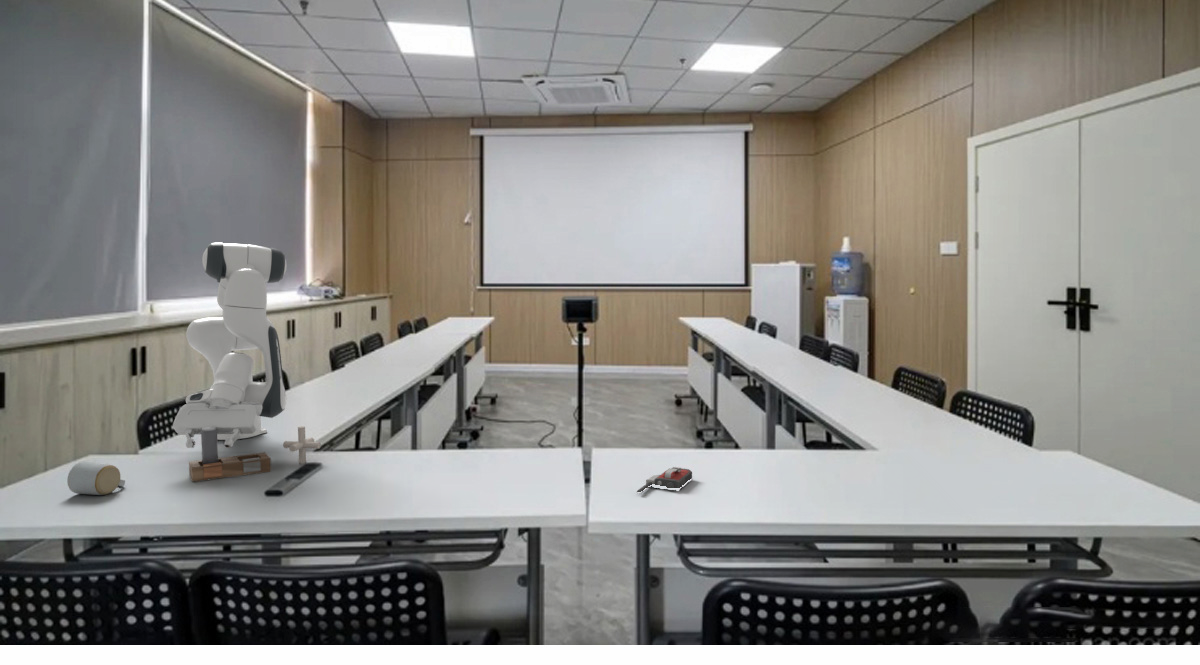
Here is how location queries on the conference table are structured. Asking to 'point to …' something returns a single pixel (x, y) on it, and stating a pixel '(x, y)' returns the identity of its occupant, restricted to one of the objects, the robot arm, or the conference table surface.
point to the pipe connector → (301, 444)
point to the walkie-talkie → (669, 478)
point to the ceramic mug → (94, 478)
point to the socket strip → (230, 466)
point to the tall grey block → (209, 445)
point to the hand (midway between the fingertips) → (208, 446)
